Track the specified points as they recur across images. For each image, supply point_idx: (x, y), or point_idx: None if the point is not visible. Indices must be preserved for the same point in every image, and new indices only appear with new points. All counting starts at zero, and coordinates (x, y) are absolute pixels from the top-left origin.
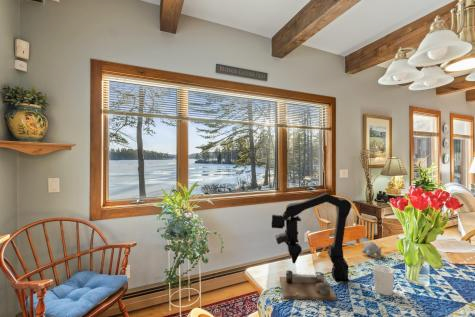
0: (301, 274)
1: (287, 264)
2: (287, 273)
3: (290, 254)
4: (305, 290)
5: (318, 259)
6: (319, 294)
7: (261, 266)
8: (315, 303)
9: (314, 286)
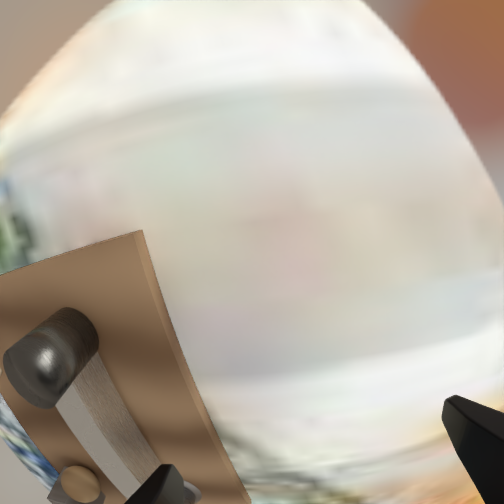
0: (117, 455)
1: (465, 270)
2: (5, 357)
3: (452, 415)
4: (47, 416)
5: None
6: (59, 461)
7: (363, 18)
8: (17, 424)
9: None
